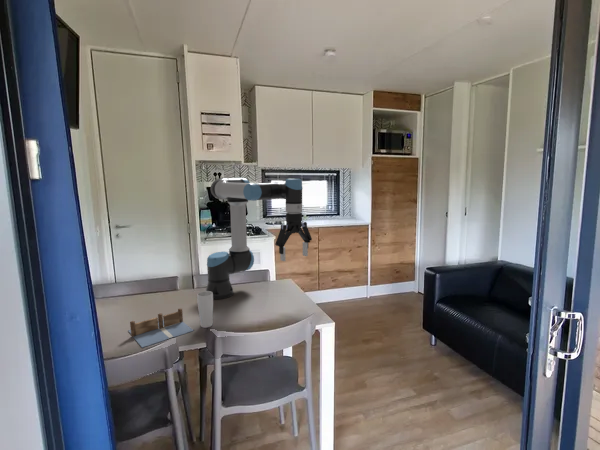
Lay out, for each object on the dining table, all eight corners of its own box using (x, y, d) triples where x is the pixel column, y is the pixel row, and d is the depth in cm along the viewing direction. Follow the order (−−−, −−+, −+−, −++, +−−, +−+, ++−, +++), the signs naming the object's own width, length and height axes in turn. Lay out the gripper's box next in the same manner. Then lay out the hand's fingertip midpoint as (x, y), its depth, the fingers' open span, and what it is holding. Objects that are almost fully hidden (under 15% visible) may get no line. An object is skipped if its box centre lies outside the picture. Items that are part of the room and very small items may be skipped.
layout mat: (128, 330, 143) (128, 330, 143) (176, 316, 157) (176, 316, 157) (142, 347, 129) (141, 347, 129) (193, 330, 143) (193, 330, 143)
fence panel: (162, 325, 147) (161, 313, 146) (163, 327, 145) (163, 314, 144) (130, 335, 138) (129, 321, 137) (131, 336, 137) (130, 323, 136)
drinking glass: (200, 322, 151) (198, 291, 149) (215, 321, 151) (214, 290, 149) (197, 329, 144) (195, 296, 142) (213, 328, 145) (211, 295, 142)
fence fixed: (163, 325, 147) (162, 313, 146) (182, 320, 152) (181, 308, 151) (165, 327, 146) (164, 314, 145) (183, 321, 151) (182, 309, 150)
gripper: (277, 215, 140) (278, 264, 143) (319, 211, 156) (319, 255, 159) (266, 214, 145) (267, 261, 148) (308, 210, 162) (308, 252, 165)
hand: (294, 258), depth 154 cm, fingers open, 13 cm apart
